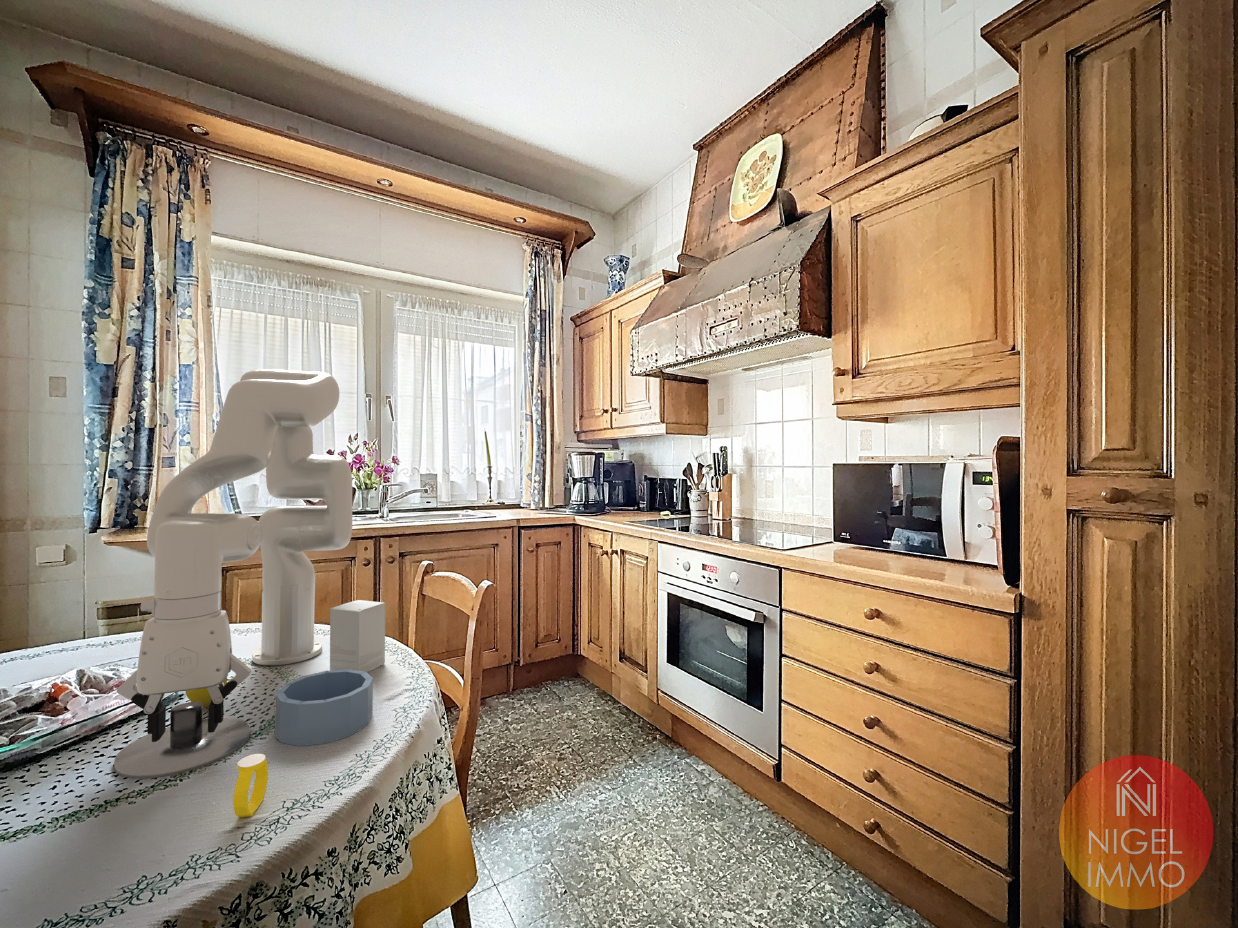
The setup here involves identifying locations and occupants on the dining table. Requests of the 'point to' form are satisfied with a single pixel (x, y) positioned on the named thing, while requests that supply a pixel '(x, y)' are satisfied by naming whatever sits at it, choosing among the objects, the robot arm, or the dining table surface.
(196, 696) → the lemon
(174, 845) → the dining table surface
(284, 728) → the bowl
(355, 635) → the supplement box
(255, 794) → the watch
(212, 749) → the lid
